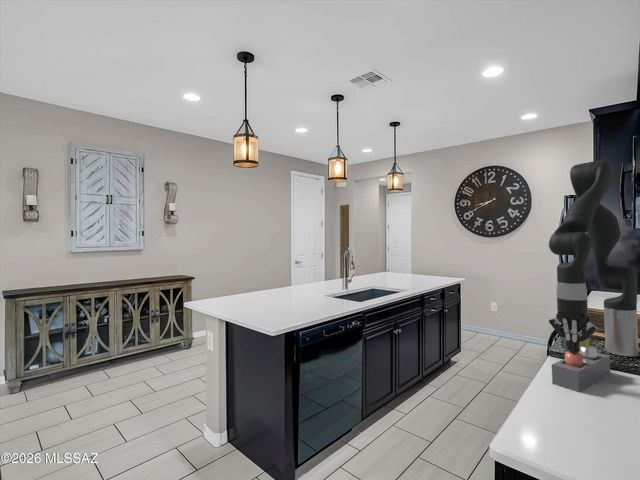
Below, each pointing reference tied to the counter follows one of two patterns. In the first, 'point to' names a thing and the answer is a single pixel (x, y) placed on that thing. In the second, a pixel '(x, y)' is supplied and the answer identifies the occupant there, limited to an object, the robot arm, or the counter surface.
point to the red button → (574, 359)
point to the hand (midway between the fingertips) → (573, 352)
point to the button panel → (580, 373)
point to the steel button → (588, 352)
